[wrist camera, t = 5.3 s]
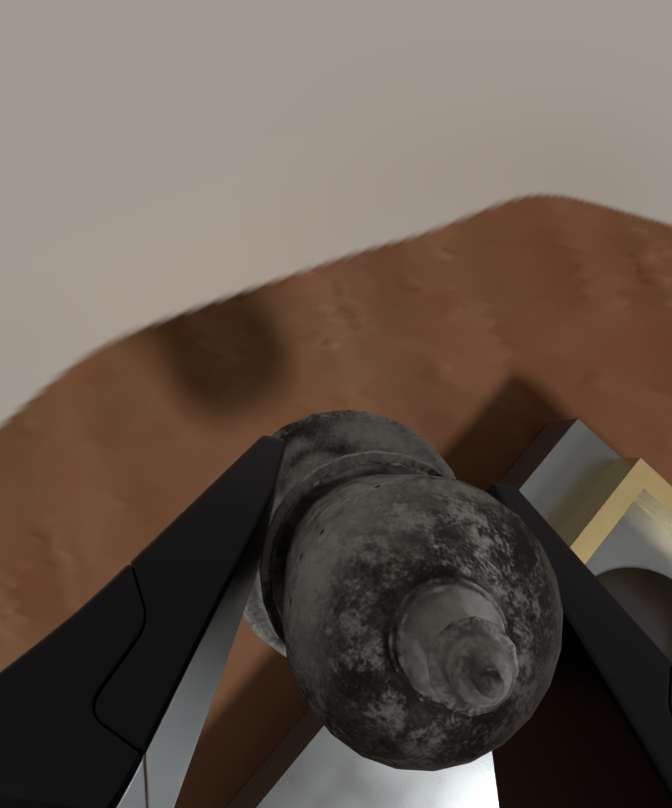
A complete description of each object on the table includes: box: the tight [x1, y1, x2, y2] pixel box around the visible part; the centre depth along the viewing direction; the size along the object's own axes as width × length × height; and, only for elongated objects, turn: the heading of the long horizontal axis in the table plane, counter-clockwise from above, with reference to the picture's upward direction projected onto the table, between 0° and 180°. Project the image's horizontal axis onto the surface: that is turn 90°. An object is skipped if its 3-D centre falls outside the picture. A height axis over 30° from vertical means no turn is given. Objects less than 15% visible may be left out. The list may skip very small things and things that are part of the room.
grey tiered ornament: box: [242, 410, 563, 771], centre depth 9 cm, size 6×6×12 cm
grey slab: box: [226, 419, 672, 808], centre depth 19 cm, size 23×13×4 cm, turn 137°
